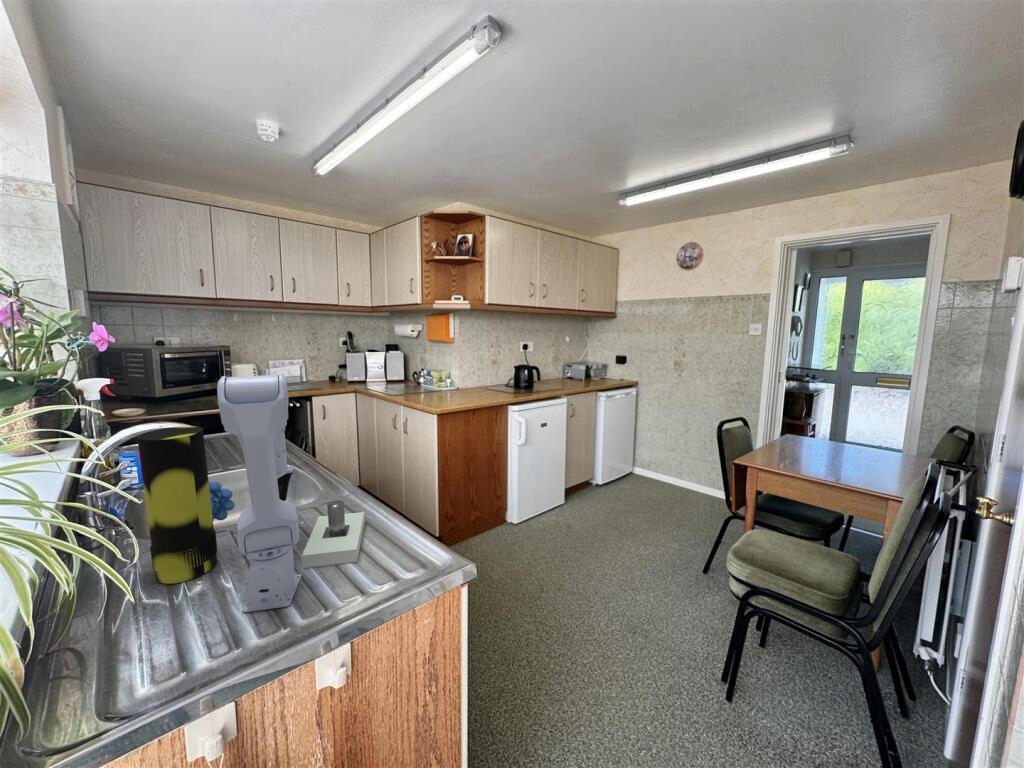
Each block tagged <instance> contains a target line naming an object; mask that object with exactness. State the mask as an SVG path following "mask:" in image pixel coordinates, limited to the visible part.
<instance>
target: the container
mask: <svg viewBox="0 0 1024 768" xmlns="http://www.w3.org/2000/svg"><path fill="white" fill-rule="evenodd" d="M136 440H137V447H138V448H137V449H138V455H139V461H140V469H141V475H142V476H141V477H142V483H143V484H142V485H143V493H144V499H145V506H146V514H147V522H148V529H149V538H150V544H151V545H150V547H149V548H150V549H149V550H150V556H151V563H152V570H154V573H155V574H154V575H155V579H156V581H157V582H159V583H162V584H170V585H171V584H173V585H174V584H179V583H185V582H188V581H192V580H194V579H197V578H198V577H202V576H203V575H205V574H206V573H208V572H209V571H211V570H212V569H213V568H214V567H215V566H216V564H217V562H218V557H217V556H218V555H217V554H218V553H217V552H218V543H217V532H216V529H215V528H214V521H213V517H212V508H211V499H210V490H209V483H210V482H209V473H208V472H209V471H208V465H207V455H206V446H205V436H204V428H203V427H201V426H194V425H186V426H183V425H181V426H171V427H165V428H163V427H162V428H159V429H153V430H149V431H146V432H142V433H141V434H139V435H137V437H136Z"/></svg>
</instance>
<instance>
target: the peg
mask: <svg viewBox="0 0 1024 768" xmlns="http://www.w3.org/2000/svg"><path fill="white" fill-rule="evenodd" d="M326 508H327V516H328V526H329V538H333V537H343V536H346V533H345V514H346V513H345V502H344V501H343V500H334V501H330V502H328V503H327V507H326Z"/></svg>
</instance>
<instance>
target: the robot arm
mask: <svg viewBox="0 0 1024 768" xmlns="http://www.w3.org/2000/svg"><path fill="white" fill-rule="evenodd" d="M216 387H217V389H216V390H217V393H216V395H217V403H218V409H219V415H220V420H221V424H222V425H223V428H224V431H225V432H227V433H228V434H229V433H230V434H232V435H234V436H236V437H237V439H238V442H239V444H240V445H239V446H240V447H241V449H242V453H243V458H244V459H243V460H244V465H245V471H246V477H247V483H248V489H249V495H250V497H249V498H250V501H251V505H250V506H249V507H247V508H246V509H245V510H243V511H242V512H241V513H240V515H239V516H238V520H237V528H236V529H237V546H238V547H237V548H238V551H239V553H240V554H242V556H246V557H247V558H246V559H247V560H249V566H250V567H249V571H248V572H247V574H246V577H245V582H244V586H245V596H246V597H245V598H246V601H245V603H244V604H243V607H242V609H241V612H242V613H250V612H255V611H256V612H257V611H263V610H264V611H265V610H271V609H272V610H273V609H280V608H286V607H289V606H290V605H291V603H292V601H293V598H294V596H295V595H296V591H297V589H298V587H299V584H300V581H301V579H302V574H301V573H297V574H295V563H294V551H293V549H294V547H293V546H296V545H297V544H298V542H300V525H299V515H298V513H297V507H296V506H295V504H294V503H291V502H289V501H286V500H287V497H288V491H289V485H290V481H291V478H292V475H293V473H294V467H289V466H288V460H287V445H286V434H285V431H286V426H287V425H288V422H287V421H288V420H289V389H288V387H289V386H288V377H287V376H286V375H285V374H284V373H279V374H267V375H245V376H244V375H242V376H227V375H223V376H221V377H220V379H219V380H218V381H217V386H216Z"/></svg>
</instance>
